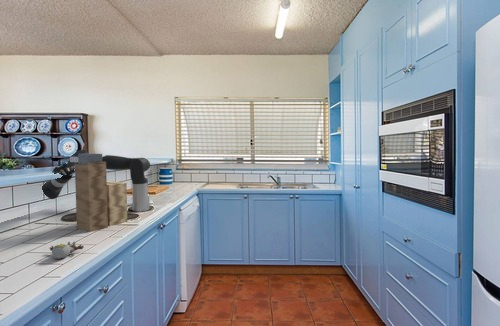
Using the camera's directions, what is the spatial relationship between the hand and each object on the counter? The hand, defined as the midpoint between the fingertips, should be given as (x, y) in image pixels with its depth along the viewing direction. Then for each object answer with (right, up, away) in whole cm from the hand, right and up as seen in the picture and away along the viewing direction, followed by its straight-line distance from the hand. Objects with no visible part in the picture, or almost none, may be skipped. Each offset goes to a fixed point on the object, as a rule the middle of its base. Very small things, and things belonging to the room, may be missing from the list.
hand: (74, 163), depth 158 cm
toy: (+21, -35, -42) cm, 58 cm away
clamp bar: (+7, 0, -5) cm, 9 cm away
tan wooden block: (+18, -31, +5) cm, 36 cm away
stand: (+13, -32, -6) cm, 35 cm away
